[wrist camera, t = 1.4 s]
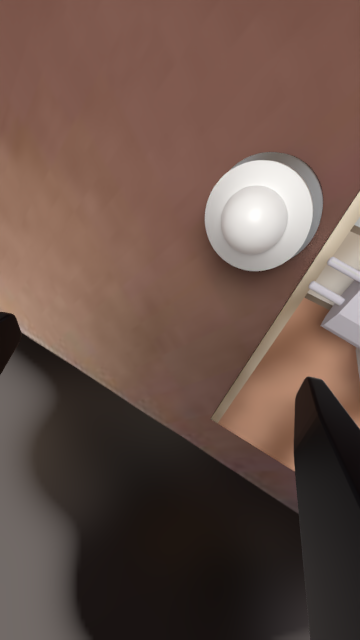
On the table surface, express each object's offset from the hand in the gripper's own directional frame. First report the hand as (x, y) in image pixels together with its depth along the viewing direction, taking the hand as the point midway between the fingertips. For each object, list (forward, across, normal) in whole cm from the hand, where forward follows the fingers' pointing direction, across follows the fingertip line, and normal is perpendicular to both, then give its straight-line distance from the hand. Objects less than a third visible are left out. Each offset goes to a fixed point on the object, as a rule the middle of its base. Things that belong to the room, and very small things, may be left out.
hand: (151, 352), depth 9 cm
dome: (+11, -3, -1) cm, 12 cm away
